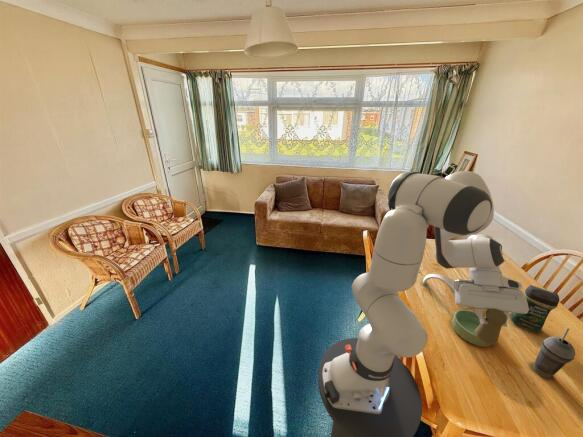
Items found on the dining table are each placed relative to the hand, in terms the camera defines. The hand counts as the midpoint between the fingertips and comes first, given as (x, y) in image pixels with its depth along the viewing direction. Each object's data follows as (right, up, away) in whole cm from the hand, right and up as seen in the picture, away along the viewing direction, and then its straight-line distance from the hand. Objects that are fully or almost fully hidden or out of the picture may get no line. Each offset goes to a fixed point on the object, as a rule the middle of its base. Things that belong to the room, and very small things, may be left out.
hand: (493, 325), depth 74 cm
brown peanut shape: (0, -5, +3) cm, 6 cm away
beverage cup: (+22, -19, +6) cm, 30 cm away
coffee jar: (+35, -11, +24) cm, 44 cm away
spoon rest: (+14, -3, +42) cm, 44 cm away
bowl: (+9, -12, +20) cm, 26 cm away
